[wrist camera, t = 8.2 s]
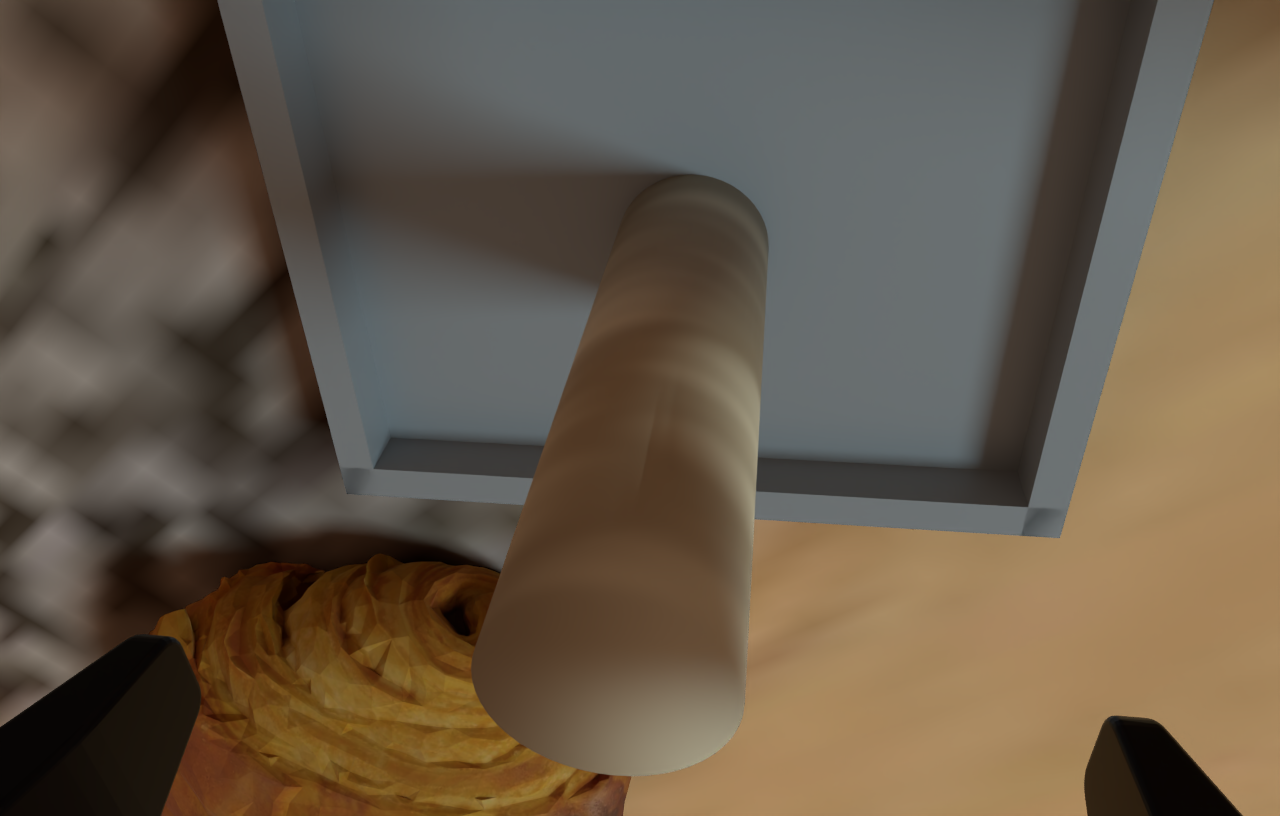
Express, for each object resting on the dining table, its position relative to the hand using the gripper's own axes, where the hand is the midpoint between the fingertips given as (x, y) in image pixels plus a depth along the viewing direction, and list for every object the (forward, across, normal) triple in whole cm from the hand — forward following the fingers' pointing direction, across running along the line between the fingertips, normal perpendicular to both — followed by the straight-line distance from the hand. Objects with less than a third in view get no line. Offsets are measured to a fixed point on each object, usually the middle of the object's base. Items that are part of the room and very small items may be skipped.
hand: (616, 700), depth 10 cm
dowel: (+12, 0, +1) cm, 12 cm away
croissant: (+13, +9, +17) cm, 24 cm away
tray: (+13, 0, +1) cm, 13 cm away
